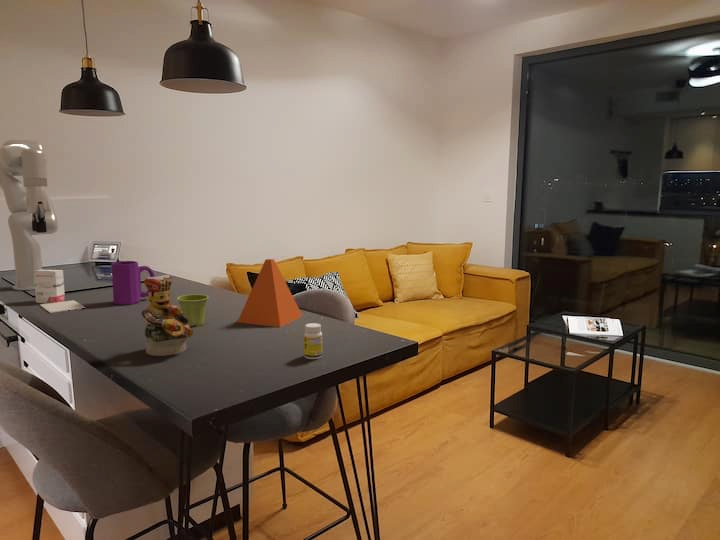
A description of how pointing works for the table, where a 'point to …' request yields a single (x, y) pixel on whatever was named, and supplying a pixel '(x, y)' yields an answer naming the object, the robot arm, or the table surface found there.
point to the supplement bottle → (313, 341)
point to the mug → (128, 282)
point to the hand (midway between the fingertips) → (39, 231)
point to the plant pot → (193, 308)
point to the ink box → (49, 286)
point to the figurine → (164, 320)
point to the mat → (61, 306)
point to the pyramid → (270, 299)
